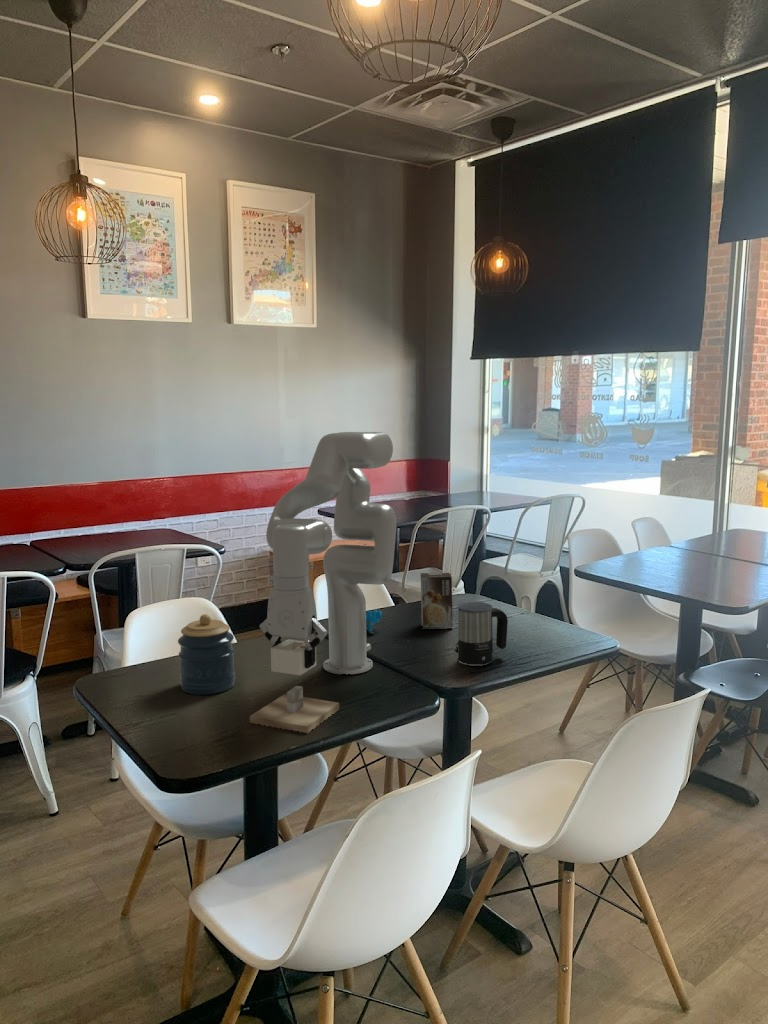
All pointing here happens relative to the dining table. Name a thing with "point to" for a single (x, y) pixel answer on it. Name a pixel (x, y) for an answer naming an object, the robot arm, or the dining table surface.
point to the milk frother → (479, 632)
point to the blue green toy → (372, 618)
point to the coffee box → (436, 600)
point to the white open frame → (289, 657)
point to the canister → (206, 657)
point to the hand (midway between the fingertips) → (294, 663)
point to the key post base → (295, 712)
